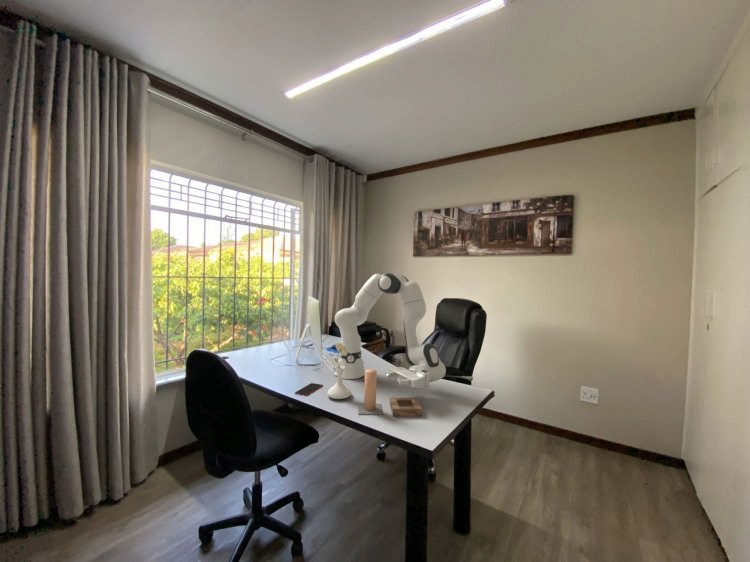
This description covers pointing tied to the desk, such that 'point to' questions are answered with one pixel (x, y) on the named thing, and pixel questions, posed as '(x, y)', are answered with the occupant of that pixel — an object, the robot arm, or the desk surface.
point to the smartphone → (309, 389)
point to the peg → (370, 390)
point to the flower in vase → (339, 378)
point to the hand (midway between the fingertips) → (392, 379)
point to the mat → (364, 412)
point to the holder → (405, 407)
